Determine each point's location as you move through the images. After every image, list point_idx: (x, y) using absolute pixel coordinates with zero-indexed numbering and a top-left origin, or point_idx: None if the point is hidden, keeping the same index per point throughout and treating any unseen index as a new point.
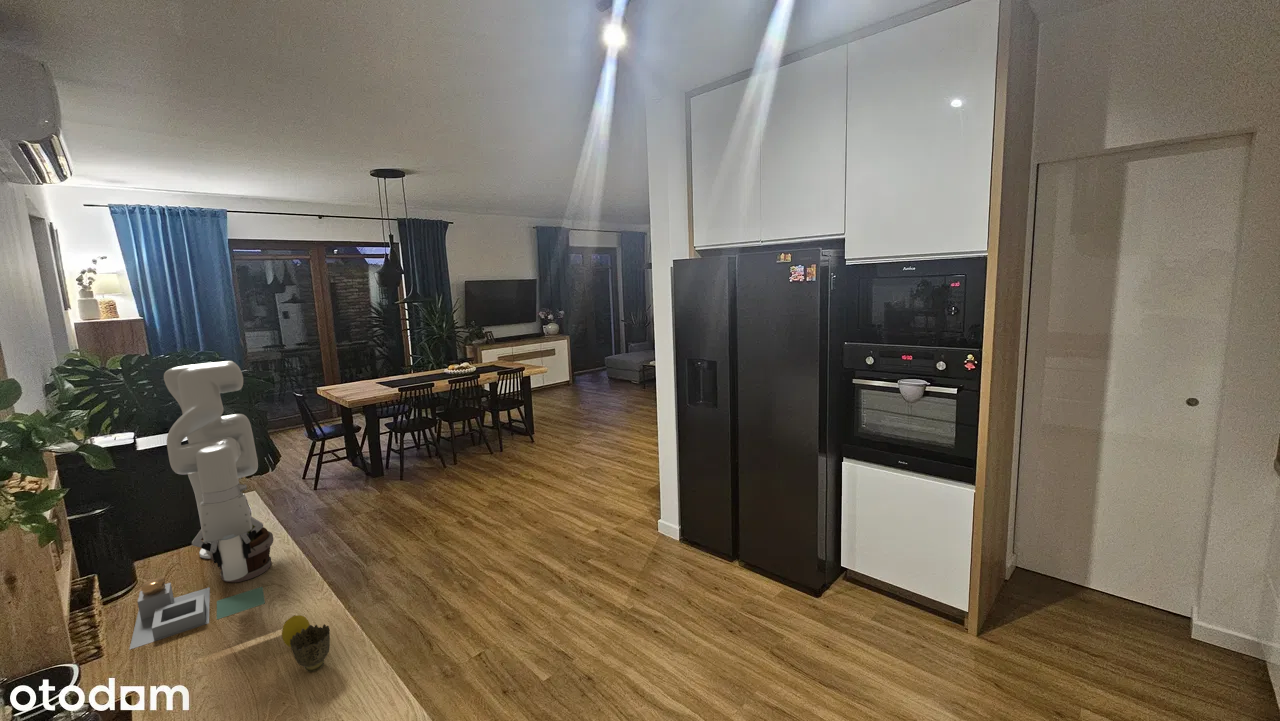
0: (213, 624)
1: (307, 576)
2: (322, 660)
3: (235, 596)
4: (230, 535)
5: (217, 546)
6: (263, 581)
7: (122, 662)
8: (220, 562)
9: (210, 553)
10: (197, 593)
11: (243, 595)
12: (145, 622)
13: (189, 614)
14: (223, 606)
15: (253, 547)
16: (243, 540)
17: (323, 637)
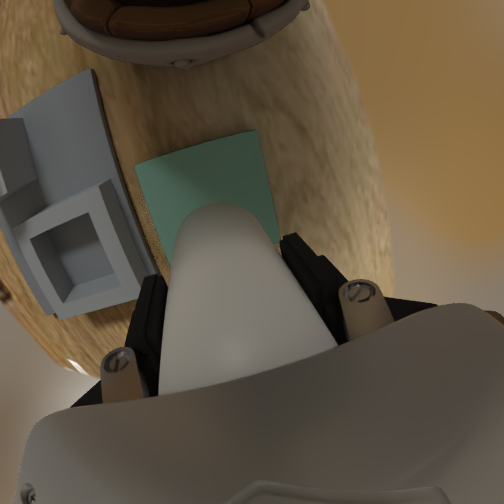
0: (166, 270)
1: (363, 117)
2: None
3: (184, 159)
4: None
5: (152, 369)
6: (245, 73)
7: (56, 330)
8: None
9: (55, 11)
10: (66, 98)
11: (208, 164)
12: (10, 218)
13: (113, 295)
14: (166, 210)
15: (258, 21)
16: (335, 337)
17: None
